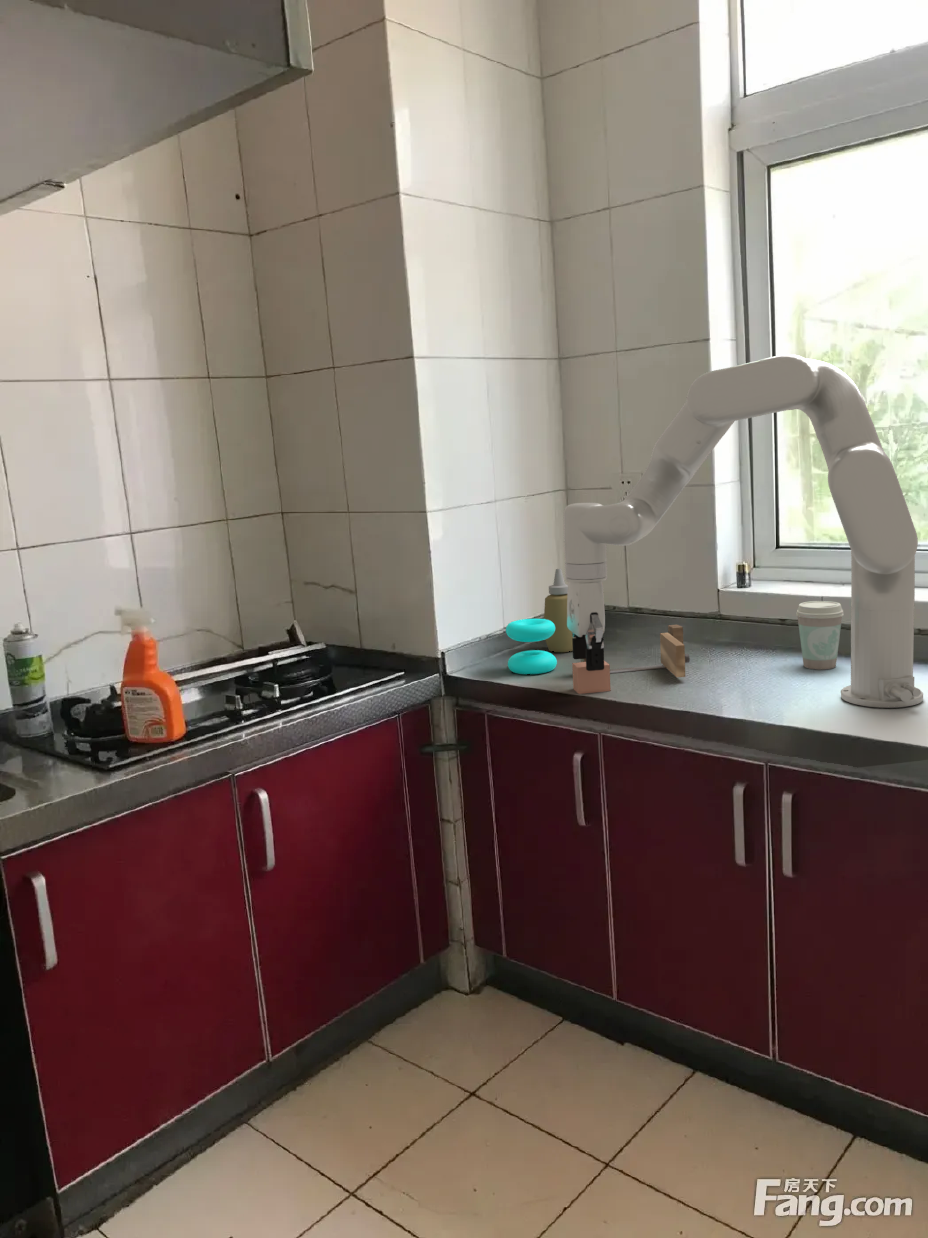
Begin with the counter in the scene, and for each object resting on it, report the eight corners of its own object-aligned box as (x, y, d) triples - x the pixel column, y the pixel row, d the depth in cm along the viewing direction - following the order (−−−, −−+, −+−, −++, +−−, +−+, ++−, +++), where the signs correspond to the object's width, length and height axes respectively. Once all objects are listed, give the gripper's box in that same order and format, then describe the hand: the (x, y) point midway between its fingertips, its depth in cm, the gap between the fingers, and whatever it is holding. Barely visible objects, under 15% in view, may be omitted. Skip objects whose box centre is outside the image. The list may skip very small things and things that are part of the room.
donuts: (539, 627, 193) (495, 625, 199) (541, 677, 195) (498, 673, 201) (563, 618, 201) (521, 616, 207) (566, 666, 203) (524, 663, 209)
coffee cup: (798, 671, 187) (797, 608, 185) (794, 661, 195) (794, 601, 193) (846, 671, 185) (846, 607, 183) (840, 661, 193) (840, 600, 191)
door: (674, 661, 197) (674, 632, 196) (691, 676, 184) (691, 644, 183) (660, 663, 196) (659, 633, 195) (676, 677, 184) (675, 645, 183)
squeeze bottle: (538, 649, 222) (534, 569, 218) (571, 644, 224) (568, 565, 221) (552, 655, 214) (548, 572, 211) (586, 651, 216) (583, 569, 213)
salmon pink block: (610, 691, 182) (609, 664, 181) (578, 694, 181) (577, 667, 180) (604, 686, 186) (603, 660, 185) (573, 689, 185) (572, 663, 184)
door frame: (683, 666, 196) (682, 627, 195) (585, 676, 194) (583, 636, 192) (678, 663, 199) (677, 624, 198) (581, 673, 197) (579, 633, 195)
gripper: (554, 567, 188) (557, 655, 191) (577, 579, 171) (579, 676, 174) (593, 564, 188) (595, 653, 192) (619, 576, 172) (621, 673, 175)
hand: (588, 664), depth 183 cm, fingers open, 9 cm apart
